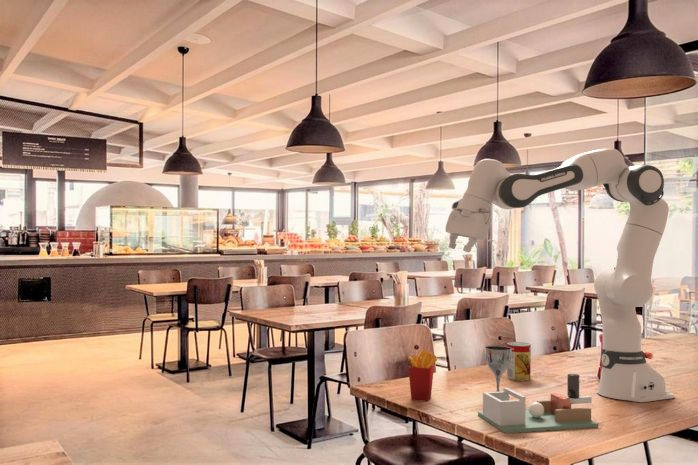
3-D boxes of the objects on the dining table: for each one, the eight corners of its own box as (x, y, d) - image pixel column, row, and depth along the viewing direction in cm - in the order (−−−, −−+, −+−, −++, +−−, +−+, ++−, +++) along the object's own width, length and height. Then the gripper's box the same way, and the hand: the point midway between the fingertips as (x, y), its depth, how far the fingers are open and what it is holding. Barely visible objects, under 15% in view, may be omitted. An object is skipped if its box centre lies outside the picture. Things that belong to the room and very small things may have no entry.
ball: (539, 414, 165) (539, 399, 165) (547, 419, 161) (547, 403, 161) (525, 415, 164) (525, 400, 164) (533, 420, 160) (533, 404, 160)
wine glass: (512, 394, 191) (512, 346, 191) (510, 400, 183) (510, 350, 183) (486, 392, 193) (486, 344, 193) (483, 398, 186) (483, 348, 186)
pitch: (563, 410, 173) (563, 382, 173) (598, 427, 157) (598, 396, 158) (478, 415, 167) (478, 386, 167) (505, 433, 152) (505, 401, 152)
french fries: (407, 400, 183) (407, 350, 183) (414, 393, 190) (414, 345, 190) (436, 403, 179) (436, 352, 180) (442, 396, 187) (442, 347, 187)
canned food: (535, 379, 212) (535, 344, 212) (517, 381, 209) (517, 346, 209) (519, 374, 219) (519, 341, 219) (502, 376, 216) (502, 342, 216)
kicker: (583, 409, 169) (583, 371, 169) (596, 416, 163) (596, 376, 163) (550, 411, 167) (550, 373, 167) (562, 418, 161) (563, 378, 161)
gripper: (500, 213, 181) (484, 257, 181) (465, 210, 200) (451, 249, 200) (483, 206, 179) (467, 250, 179) (450, 203, 198) (435, 243, 198)
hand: (458, 250), depth 189 cm, fingers open, 8 cm apart
